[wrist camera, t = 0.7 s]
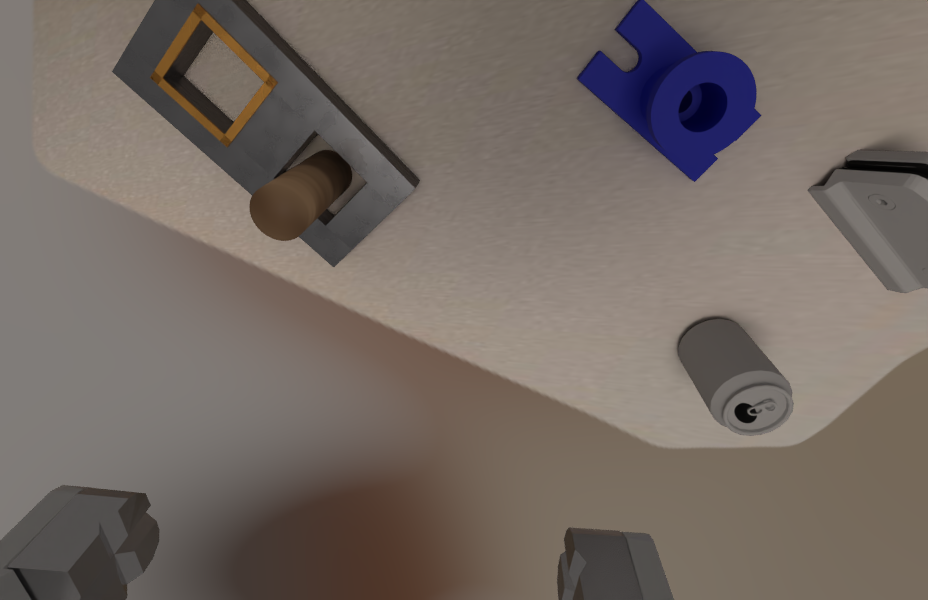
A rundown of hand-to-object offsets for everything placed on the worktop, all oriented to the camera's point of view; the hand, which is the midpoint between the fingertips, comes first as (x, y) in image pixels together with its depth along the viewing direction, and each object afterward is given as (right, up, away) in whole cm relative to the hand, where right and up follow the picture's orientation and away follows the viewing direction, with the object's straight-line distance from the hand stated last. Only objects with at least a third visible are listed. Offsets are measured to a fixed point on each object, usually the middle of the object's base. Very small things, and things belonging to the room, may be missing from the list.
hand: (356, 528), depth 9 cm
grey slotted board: (-16, +21, +37) cm, 45 cm away
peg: (-12, +17, +39) cm, 44 cm away
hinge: (+44, +13, +38) cm, 60 cm away
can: (+31, 0, +46) cm, 55 cm away
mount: (+21, +23, +34) cm, 46 cm away
